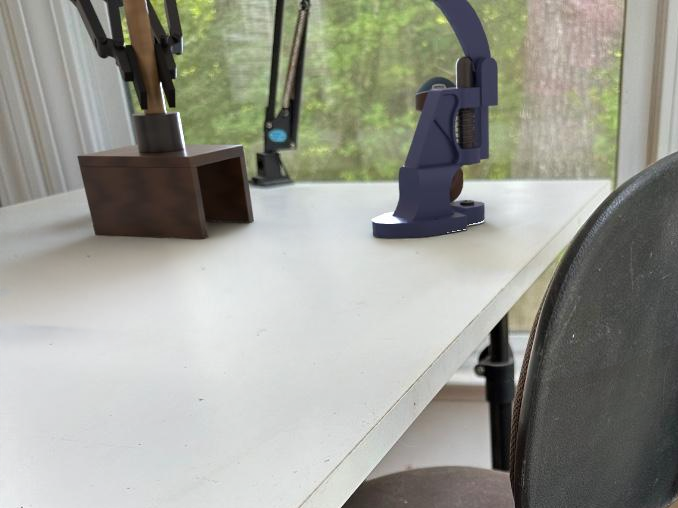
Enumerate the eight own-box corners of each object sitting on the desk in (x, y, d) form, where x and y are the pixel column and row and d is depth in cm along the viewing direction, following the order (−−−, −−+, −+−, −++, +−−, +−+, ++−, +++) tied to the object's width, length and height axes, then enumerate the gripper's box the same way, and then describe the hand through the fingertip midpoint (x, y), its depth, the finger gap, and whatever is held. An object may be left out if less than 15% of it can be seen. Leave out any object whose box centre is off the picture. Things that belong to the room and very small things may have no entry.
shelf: (95, 234, 113) (76, 155, 108) (152, 217, 123) (138, 144, 118) (203, 239, 108) (188, 156, 103) (254, 221, 118) (243, 144, 113)
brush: (129, 152, 109) (97, -6, 101) (156, 147, 114) (128, -5, 105) (167, 153, 108) (138, -8, 99) (194, 147, 112) (168, -7, 103)
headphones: (419, 183, 134) (419, 225, 117) (414, 66, 125) (413, 93, 107) (461, 181, 134) (466, 224, 117) (459, 65, 125) (465, 92, 107)
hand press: (469, 214, 117) (464, -51, 102) (511, 222, 111) (512, -58, 96) (343, 234, 108) (317, -53, 93) (380, 244, 102) (359, -61, 87)
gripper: (32, -94, 102) (85, 78, 99) (170, -93, 108) (225, 70, 104) (42, -34, 109) (91, 129, 105) (171, -36, 115) (223, 119, 111)
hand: (158, 99), depth 105 cm, fingers closed on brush, 2 cm apart
